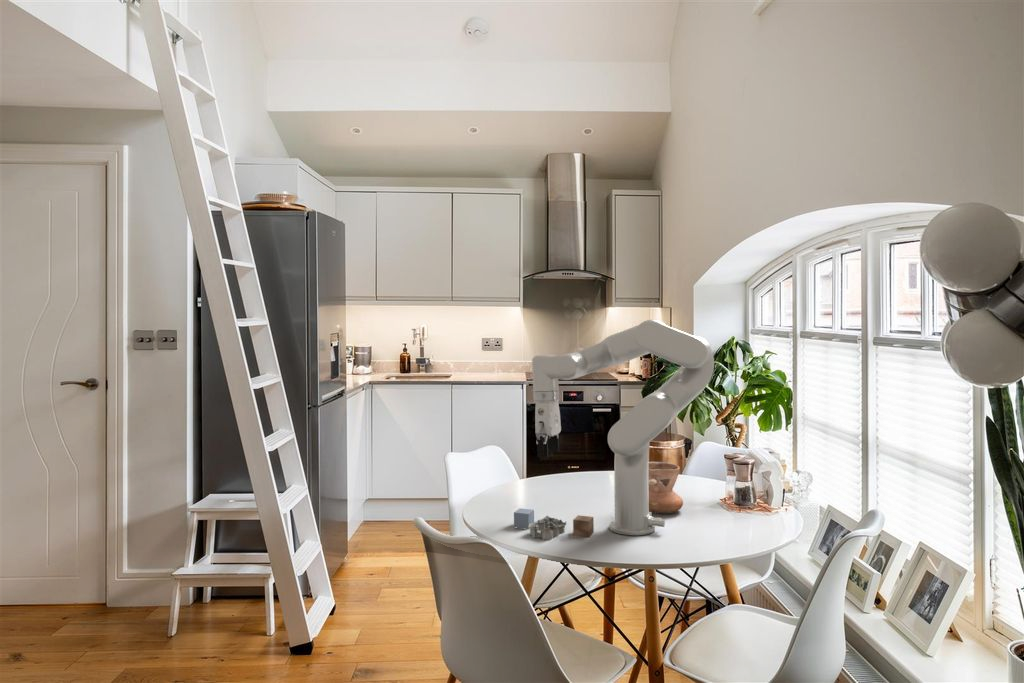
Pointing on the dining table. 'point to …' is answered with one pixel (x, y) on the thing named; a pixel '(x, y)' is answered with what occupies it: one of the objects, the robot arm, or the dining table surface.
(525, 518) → the slate-blue block
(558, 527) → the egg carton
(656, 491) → the ceramic jug
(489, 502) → the dining table surface
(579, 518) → the walnut block
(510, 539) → the dining table surface
